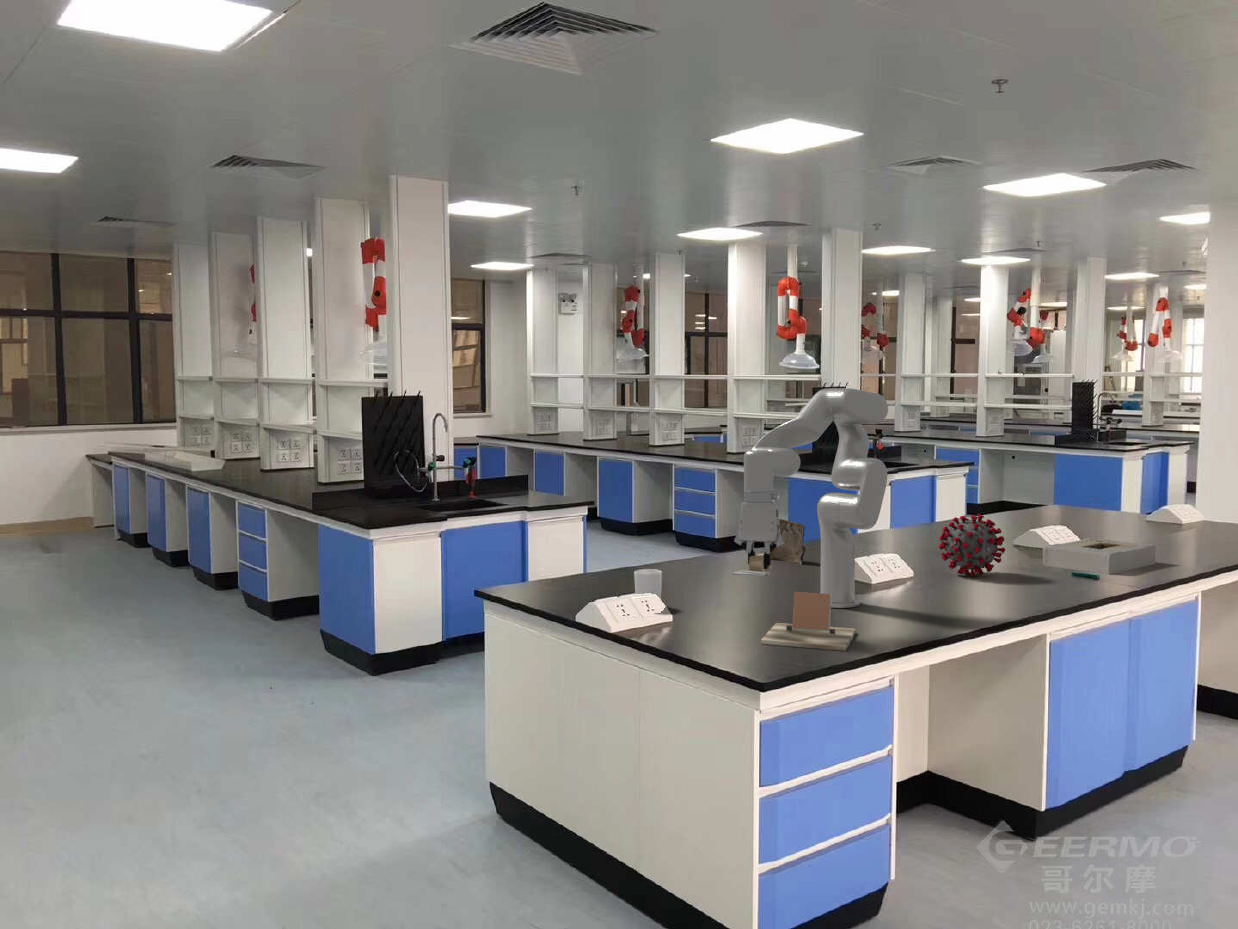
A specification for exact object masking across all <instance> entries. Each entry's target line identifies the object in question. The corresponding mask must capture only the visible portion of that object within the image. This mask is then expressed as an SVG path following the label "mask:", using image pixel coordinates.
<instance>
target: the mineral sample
mask: <svg viewBox="0 0 1238 929" xmlns="http://www.w3.org/2000/svg"><path fill="white" fill-rule="evenodd" d="M779 523H780V534H781V536H782V537H783V539H784V541H785V542H784V544H782V545H780V546H778V547H776V548H775V549H774V550H773V551H772V552H771V560H779V561H785V562H791V563H798V564H799V565H802V563H803V561H804V556H805V553H806V546H804V537H805V528H806V527H805V524H801V523H798V522H793V521H791V520H787V519H785V518H784V519H783V518H779ZM775 542H777V539H776V541H774V542H772V544H773V543H775Z"/></svg>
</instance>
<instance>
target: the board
mask: <svg viewBox="0 0 1238 929" xmlns="http://www.w3.org/2000/svg"><path fill="white" fill-rule="evenodd" d="M856 630H857V629H856V628H851V627H849V628H848V627H834V626H830V630H829V631H821V630H808V629H795V628H792V623H786V622H785V623H782V622H775V623H774V625H773V626H772V627H771V628H770V629H769V630H768V631H767V632H766V633H765V635H763V637H762V638H761V639H760V644H761V645H770V646H771V645H772V646H782V647H795V648H805V649H806V648H807V649H817V650H818V649H819V650H831V651H843V652H846V651H847V649H848V648H849V646H850V645H851V641H852V640H853V638H854V636H855V634H857V633H856Z"/></svg>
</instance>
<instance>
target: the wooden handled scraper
mask: <svg viewBox="0 0 1238 929" xmlns="http://www.w3.org/2000/svg"><path fill="white" fill-rule="evenodd" d="M764 554H765V553H757V554H755V556H751V557H749V565H748V566H749V567H748V570H741V569H740V570H739V569H738V570H737V571H734V572H732V576H747V577H767V576H768V575H771V571H769V570H771V569H772V564H771V565H770V566H769V568H767V569H764V557H763V555H764Z"/></svg>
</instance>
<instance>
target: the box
mask: <svg viewBox="0 0 1238 929" xmlns="http://www.w3.org/2000/svg"><path fill="white" fill-rule="evenodd" d="M1156 548H1157V546H1156V545H1155V544H1143V543H1137V542H1136V543H1135V542H1128V541H1127V542H1126V541H1118V540H1111V539H1102V538H1096V537H1087V538H1083V539H1080V540H1075V541H1068V542H1064V543H1054V544H1047V545H1045V546H1043V547H1042V559H1043V561H1042V562H1043V566H1047V567H1054V568H1055V567H1056V568H1062V569H1067V570H1075V571H1081V572H1088V573H1094V574H1095V573H1096V574H1102V575H1114V574H1117V573H1123V572H1127V571H1132V570H1135V569H1139V568H1143V567H1148V566H1149V567H1150V566H1152V565H1153V566H1154V565H1155V564H1156Z"/></svg>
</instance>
